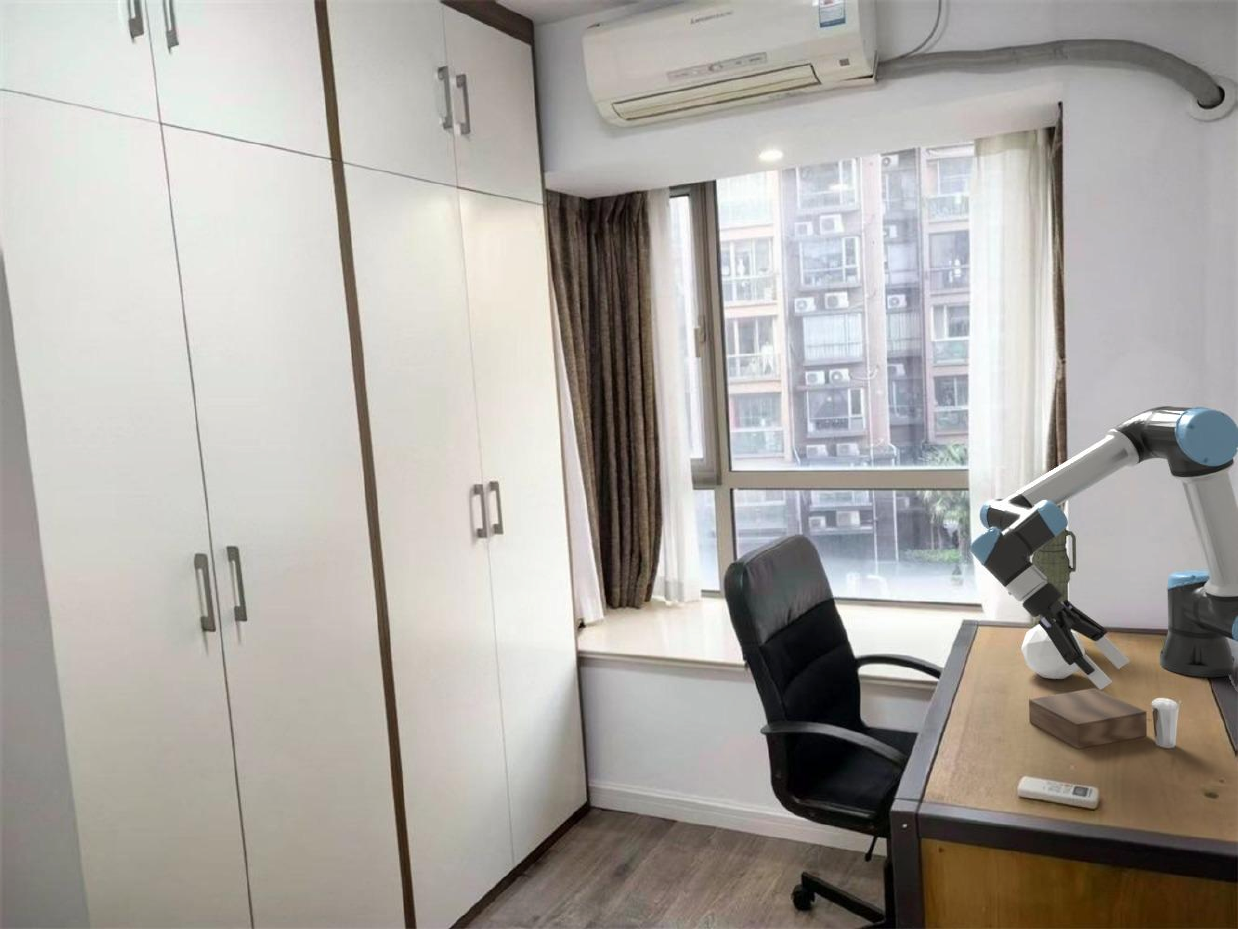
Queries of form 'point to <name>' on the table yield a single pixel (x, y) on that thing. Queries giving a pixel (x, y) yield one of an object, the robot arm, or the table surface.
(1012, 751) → the table surface
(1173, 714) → the milkshake
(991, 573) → the robot arm
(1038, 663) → the geodesic sphere
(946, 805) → the table surface
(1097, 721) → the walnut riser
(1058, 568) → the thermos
